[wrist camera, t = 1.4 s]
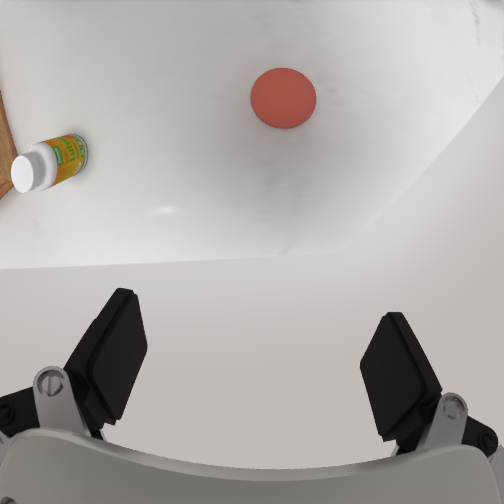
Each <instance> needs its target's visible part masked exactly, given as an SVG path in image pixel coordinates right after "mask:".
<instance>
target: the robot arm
mask: <svg viewBox="0 0 504 504" xmlns="http://www.w3.org/2000/svg"><path fill="white" fill-rule="evenodd" d="M146 352H147V340H146V336H145V331H144V326H143V321H142V317H141V311H140V306H139V300H138V296H137V295H136V294H134V292H133V290H130V289H124V288H117V289H116V290H115V292H114V293H113V295H112V296H111V298H110V299H109V300H108V302H107V303H106V305H105V306H104V308H103V309H102V311H101V312H100V314H99V315H98V317H97V318H96V319H94V321H93V322H92V323H91V325H90V326H89V328H88V329H87V331H86V332H85V334H84V335H83V337H82V339H81V340H80V342H79V343H78V345H77V346H76V348H75V350H74V352H73V353H72V355H71V356H70V358H69V360H68V361H67V363H66V365H65V366H64V368H63V369H62V368H59V367H57V366H49V367H46V368H43V369H42V370H40V371H39V372H38V373H37V374H36V376H35V378H34V381H33V386H32V387H30V388H27V389H24V390H21V391H18V392H15V393H12V394H9V395H6V396H3V397H1V398H0V504H504V448H503V447H502V446H501V445H500V446H498V437H497V435H496V433H495V432H494V430H492V429H491V428H490V427H488V426H485V425H484V424H482V423H480V422H479V421H477V420H475V419H473V418H471V417H469V416H468V408H467V405H466V403H465V401H464V399H463V398H462V397H460V396H459V395H458V394H455V393H446V394H444V395H443V396H442V395H441V391H442V388H441V385H440V383H439V381H438V379H437V377H436V375H435V373H434V371H433V369H432V367H431V365H430V363H429V361H428V359H427V357H426V355H425V353H424V351H423V349H422V347H421V345H420V343H419V342H418V340H417V338H416V336H415V334H414V333H413V331H412V329H411V327H410V325H409V324H408V322H407V320H406V318H405V317H404V315H403V314H402V313H401V312H388V313H387V314H386V315H385V316H383V317H382V318H381V321H380V323H379V325H378V327H377V330H376V332H375V334H374V336H373V338H372V340H371V342H370V344H369V346H368V348H367V350H366V352H365V354H364V356H363V358H362V359H361V362H360V370H361V373H362V377H363V380H364V383H365V387H366V390H367V393H368V397H369V401H370V404H371V408H372V412H373V415H374V419H375V423H376V426H377V431H378V434H379V435H380V436H382V439H383V442H386V441H391V440H394V439H396V443H397V444H396V447H395V449H394V450H393V452H392V454H391V456H390V457H388V458H383V459H378V460H373V461H367V462H362V463H355V464H349V465H341V466H332V467H322V468H308V469H247V468H233V467H232V468H231V467H222V466H213V465H205V464H198V463H192V462H186V461H180V460H175V459H169V458H165V457H160V456H156V455H152V454H147V453H144V452H140V451H136V450H132V449H129V448H125V447H121V446H118V445H115V444H112V443H109V442H107V441H106V438H105V436H104V434H103V431H102V428H103V425H104V423H108V424H111V425H115V423H116V420H120V419H121V417H122V415H123V412H124V409H125V406H126V404H127V401H128V398H129V396H130V393H131V390H132V388H133V385H134V383H135V380H136V377H137V375H138V372H139V370H140V367H141V365H142V362H143V360H144V357H145V355H146Z"/></svg>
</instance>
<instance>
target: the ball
mask: <svg viewBox="0 0 504 504" xmlns="http://www.w3.org/2000/svg"><path fill="white" fill-rule="evenodd" d="M251 104H252V107H253V110H254V111H255V113H256V115H257V116H258V117H259V118H260V119H261V120H262V121H263V122H265V123H266V124H268V125H270V126H273V127H276V128H293V127H296V126H299V125H301V124H302V123H304V122H305V121H306V120H308V118H309V117H310V116H311V115H312V113H313V111H314V108H315V105H316V93H315V90H314V87H313V85H312V84H311V82H310V81H309V80H308V79H307V78H306V77H305V76H304V75H303V74H301V73H300V72H298V71H296V70H293V69H288V68H276V69H272V70H269V71H267V72H265V73H264V74H262V75H261V76H260V77H259V78H258V79H257V80H256V82H255V83H254V85H253V87H252V91H251Z"/></svg>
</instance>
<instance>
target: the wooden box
mask: <svg viewBox="0 0 504 504" xmlns="http://www.w3.org/2000/svg"><path fill="white" fill-rule="evenodd" d="M16 157H18V154H17V151H16V148H15V146H14V142H13V139H12V135H11V132H10V129H9V125H8V122H7V118H6V114H5V110H4V105H3V101H2V96H1V91H0V199H1V198H2V197H3V196H4V195H5V194H6V193H7V192H8V191H9V190H10V189H11V188H12V187H13V186H14V184H13V182H12V177H11V168H12V164H13V161H14V160H15V158H16Z"/></svg>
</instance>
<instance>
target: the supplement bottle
mask: <svg viewBox="0 0 504 504" xmlns="http://www.w3.org/2000/svg"><path fill="white" fill-rule="evenodd" d="M86 160H87V148H86V145H85V143H84V141H83V140H82V139H81V138H80V137H79V136H77V135H73V134H71V135H65V136H61V137H57V138H53V139H50V140H46V141H42V142H39V143H36V144H34V145H32V146H31V147H30V148H29V149H28V150H27V151H26V153H25V154H22V155H20V156H18V157H16V158H15V160H14V161H13V164H12V168H11V177H12V182H13V184H14V186H15V188H16V189H17V190H18V191H19V192H21V193H27V192H29V191H31V190H33V189H34V190H36V191H43V190H46V189H48V188H50V187H52V186H54V185H56V184H58V183H60V182H62V181H64V180H66V179H68V178H70V177H72V176H74V175H76V174H78V173H79V172H80V171H81V170H82V169H83V168H84V166H85V164H86Z"/></svg>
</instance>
